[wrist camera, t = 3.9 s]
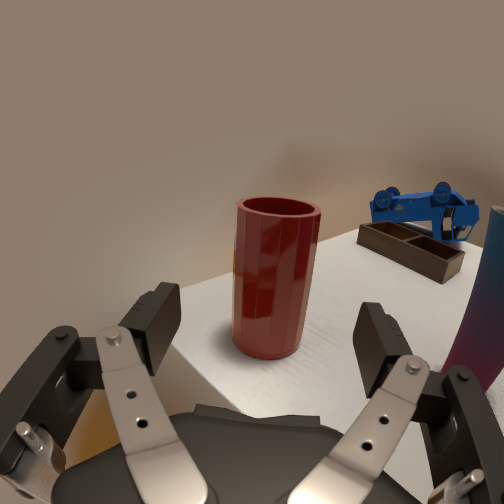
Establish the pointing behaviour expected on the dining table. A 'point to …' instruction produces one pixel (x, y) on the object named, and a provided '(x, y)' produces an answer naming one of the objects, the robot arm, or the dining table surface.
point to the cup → (484, 312)
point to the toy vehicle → (427, 210)
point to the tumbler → (272, 273)
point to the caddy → (412, 249)
